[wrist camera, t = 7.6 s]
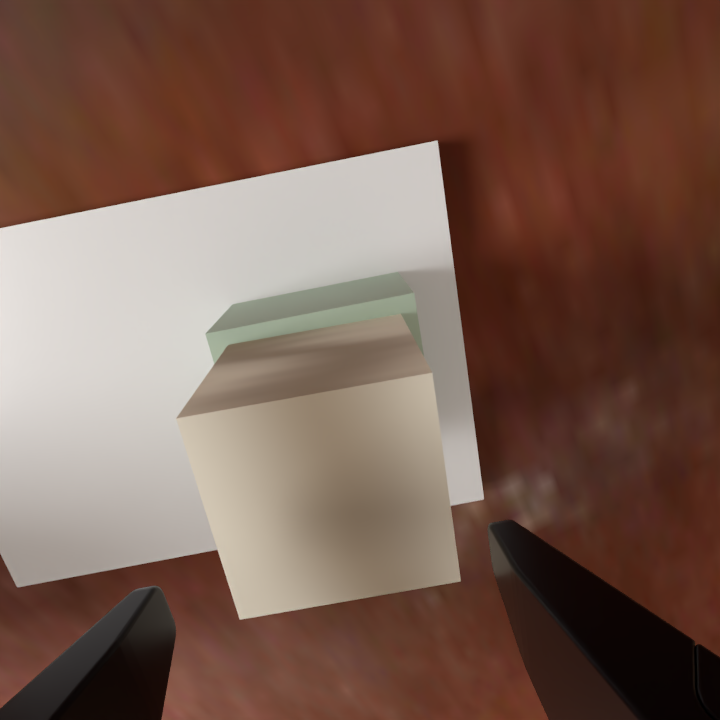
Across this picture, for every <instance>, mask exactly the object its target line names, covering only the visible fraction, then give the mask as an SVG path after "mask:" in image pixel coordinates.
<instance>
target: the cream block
mask: <svg viewBox="0 0 720 720" xmlns="http://www.w3.org/2000/svg"><path fill="white" fill-rule="evenodd" d="M176 420H177V423H178V426H179V430H180V433H181V436H182V439H183V442H184V445H185V449H186V452H187V455H188V458H189V461H190V464H191V468H192V471H193V474H194V477H195V480H196V483H197V486H198V490H199V493H200V496H201V499H202V502H203V505H204V509H205V512H206V515H207V518H208V521H209V524H210V528H211V531H212V534H213V537H214V540H215V543H216V546H217V550H218V553H219V556H220V559H221V562H222V565H223V569H224V572H225V575H226V578H227V581H228V584H229V587H230V591H231V594H232V597H233V600H234V603H235V606H236V610H237V613H238V616H239V619H240V620H241V619H247V618H253V617H259V616H264V615H270V614H276V613H282V612H287V611H293V610H299V609H305V608H310V607H316V606H322V605H328V604H333V603H339V602H345V601H351V600H356V599H362V598H368V597H374V596H379V595H385V594H391V593H397V592H402V591H408V590H414V589H420V588H425V587H431V586H437V585H443V584H448V583H454V582H460V581H461V578H460V571H459V564H458V556H457V549H456V542H455V534H454V527H453V520H452V513H451V505H450V498H449V491H448V483H447V476H446V469H445V461H444V454H443V447H442V439H441V432H440V425H439V417H438V410H437V403H436V395H435V388H434V381H433V373H432V371H431V369H430V367H429V365H428V364H427V362H426V360H425V358H424V356H423V354H422V352H421V350H420V349H419V347H418V345H417V343H416V341H415V339H414V337H413V335H412V334H411V332H410V330H409V328H408V326H407V324H406V322H405V321H404V319H403V317H402V315H401V314H396V315H391V316H385V317H380V318H374V319H369V320H363V321H358V322H352V323H346V324H341V325H335V326H330V327H324V328H319V329H313V330H308V331H302V332H296V333H291V334H285V335H280V336H274V337H269V338H263V339H258V340H252V341H246V342H241V343H235V344H230V345H228V346H227V347H226V348H225V350H224V351H223V353H222V354H221V356H220V357H219V358H218V360H217V361H216V363H215V364H214V365H213V367H212V368H211V370H210V371H209V373H208V374H207V375H206V377H205V378H204V380H203V381H202V382H201V384H200V385H199V387H198V388H197V389H196V391H195V392H194V394H193V395H192V397H191V398H190V399H189V401H188V402H187V404H186V405H185V406H184V408H183V409H182V411H181V412H180V414H179V415H178V416H177V418H176Z"/></svg>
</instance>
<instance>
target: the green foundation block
mask: <svg viewBox="0 0 720 720" xmlns="http://www.w3.org/2000/svg"><path fill="white" fill-rule="evenodd" d="M396 314H401V315H402V317H403V319H404V321H405V322H406V324H407V326H408V328H409V330H410V332H411V334H412V335H413V337H414V339H415V341H416V343H417V345H418V347H419V349H420V350H421V352H422V354H423V356H424V353H423V347H422V340H421V334H420V327H419V321H418V315H417V308H416V302H415V296H414V292H413V291H412V290H411V288H410V287H409V286H408V284H407V283H406V282H405V281H404V279H403V278H402V277H401V275H400V274H399V273H398V272H394V273H389V274H384V275H379V276H374V277H369V278H364V279H359V280H353V281H348V282H343V283H338V284H333V285H328V286H323V287H318V288H313V289H308V290H303V291H298V292H292V293H287V294H282V295H277V296H272V297H267V298H262V299H257V300H252V301H247V302H242V303H236V304H232V305H231V306H230V308H229V309H228V310H227V311H226V312H225V313H224V314H223V315H222V316H221V317H220V318H219V319H218V321H217V322H216V323H215V324H214V325H213V326H212V327H211V328H210V329H209V330H208V331H207V332H206V333H205V335H206V338H207V341H208V345H209V348H210V351H211V355H212V358H213V361H214V364H215V363H216V361H217V360H218V358H219V357H220V356H221V354H222V353H223V351H224V350H225V348H226V347H227V346H228V345H230V344H235V343H241V342H246V341H252V340H258V339H263V338H269V337H274V336H280V335H285V334H291V333H296V332H302V331H308V330H313V329H319V328H324V327H330V326H335V325H341V324H346V323H352V322H358V321H363V320H369V319H374V318H380V317H385V316H391V315H396Z"/></svg>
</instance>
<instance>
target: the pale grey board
mask: <svg viewBox="0 0 720 720" xmlns="http://www.w3.org/2000/svg"><path fill="white" fill-rule="evenodd" d="M394 272H398V273H399V274H400V275H401V277H402V278H403V279H404V281H405V282H406V283H407V284H408V286H409V287H410V288H411V290H412V291H413V292H414V296H415V302H416V308H417V315H418V321H419V327H420V334H421V340H422V347H423V353H424V358H425V360H426V362H427V364H428V365H429V367H430V369H431V371H432V373H433V381H434V388H435V395H436V403H437V410H438V417H439V425H440V432H441V439H442V447H443V454H444V461H445V469H446V476H447V483H448V491H449V498H450V505H451V506H452V505H457V504H462V503H468V502H473V501H478V500H484V495H483V487H482V479H481V472H480V464H479V456H478V449H477V441H476V433H475V425H474V418H473V410H472V402H471V395H470V387H469V379H468V371H467V364H466V356H465V348H464V341H463V333H462V325H461V317H460V310H459V302H458V294H457V286H456V279H455V271H454V263H453V256H452V248H451V240H450V232H449V225H448V217H447V209H446V202H445V194H444V186H443V178H442V171H441V163H440V155H439V148H438V141H433V142H428V143H423V144H418V145H413V146H408V147H403V148H398V149H393V150H388V151H383V152H378V153H373V154H368V155H363V156H358V157H353V158H348V159H343V160H338V161H333V162H328V163H323V164H318V165H313V166H308V167H303V168H298V169H293V170H288V171H283V172H278V173H273V174H268V175H263V176H258V177H253V178H248V179H243V180H238V181H233V182H229V183H224V184H219V185H214V186H209V187H204V188H199V189H194V190H189V191H184V192H179V193H174V194H169V195H164V196H159V197H154V198H149V199H144V200H139V201H134V202H129V203H124V204H119V205H114V206H109V207H104V208H99V209H94V210H89V211H84V212H79V213H74V214H69V215H64V216H59V217H54V218H49V219H44V220H39V221H34V222H29V223H24V224H19V225H14V226H9V227H4V228H0V554H1V556H2V558H3V560H4V562H5V564H6V566H7V568H8V570H9V572H10V574H11V576H12V578H13V580H14V582H15V584H16V586H17V587H23V586H28V585H33V584H39V583H44V582H49V581H55V580H60V579H65V578H70V577H76V576H81V575H86V574H92V573H97V572H102V571H108V570H113V569H118V568H123V567H129V566H134V565H139V564H145V563H150V562H155V561H161V560H166V559H171V558H176V557H182V556H187V555H192V554H198V553H203V552H208V551H214V550H217V546H216V543H215V540H214V537H213V534H212V531H211V528H210V524H209V521H208V518H207V515H206V512H205V509H204V505H203V502H202V499H201V496H200V493H199V490H198V486H197V483H196V480H195V477H194V474H193V471H192V468H191V464H190V461H189V458H188V455H187V452H186V449H185V445H184V442H183V439H182V436H181V433H180V430H179V426H178V423H177V420H176V418H177V416H178V415H179V414H180V412H181V411H182V409H183V408H184V406H185V405H186V404H187V402H188V401H189V399H190V398H191V397H192V395H193V394H194V392H195V391H196V389H197V388H198V387H199V385H200V384H201V382H202V381H203V380H204V378H205V377H206V375H207V374H208V373H209V371H210V370H211V368H212V367H213V365H214V361H213V358H212V355H211V351H210V348H209V345H208V341H207V338H206V335H205V333H206V332H207V331H208V330H209V329H210V328H211V327H212V326H213V325H214V324H215V323H216V322H217V321H218V319H219V318H220V317H221V316H222V315H223V314H224V313H225V312H226V311H227V310H228V309H229V308H230V306H231V305H232V304H236V303H242V302H247V301H252V300H257V299H262V298H267V297H272V296H277V295H282V294H287V293H292V292H298V291H303V290H308V289H313V288H318V287H323V286H328V285H333V284H338V283H343V282H348V281H353V280H359V279H364V278H369V277H374V276H379V275H384V274H389V273H394Z"/></svg>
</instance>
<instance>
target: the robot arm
mask: <svg viewBox="0 0 720 720" xmlns="http://www.w3.org/2000/svg"><path fill="white" fill-rule="evenodd" d="M488 537H489V545H490V552H491V560H492V566H493V571H494V575H495V578H496V581H497V584H498V587H499V590H500V593H501V596H502V599H503V602H504V605H505V608H506V611H507V615H508V618H509V621H510V624H511V627H512V630H513V633H514V636H515V639H516V642H517V645H518V648H519V651H520V654H521V656H522V659H523V662H524V665H525V667H526V670H527V672H528V674H529V677H530V679H531V681H532V684H533V686H534V688H535V690H536V692H537V695H538V697H539V699H540V701H541V703H542V706H543V708H544V710H545V712H546V714H547V716H548V719H549V720H720V657H719V656H717V655H716V654H714V653H713V652H711V651H710V650H708V649H707V648H705V647H704V646H702V645H700V644H697V645H696V647H695V641H694V640H693V639H691V638H690V637H688V636H687V635H685V634H684V633H682V632H681V631H679V630H678V629H676V628H675V627H673V626H672V625H670V624H669V623H667V622H666V621H664V620H663V619H661V618H660V617H658V616H657V615H655V614H654V613H652V612H651V611H649V610H648V609H646V608H645V607H643V606H641V605H640V604H638V603H637V602H635V601H634V600H632V599H631V598H629V597H628V596H626V595H625V594H623V593H622V592H620V591H619V590H617V589H616V588H614V587H613V586H611V585H610V584H608V583H607V582H605V581H604V580H602V579H601V578H599V577H598V576H596V575H595V574H593V573H592V572H590V571H589V570H587V569H586V568H584V567H583V566H581V565H580V564H578V563H577V562H575V561H574V560H572V559H571V558H569V557H568V556H566V555H565V554H563V553H562V552H560V551H559V550H557V549H556V548H554V547H553V546H551V545H550V544H548V543H547V542H545V541H544V540H542V539H541V538H539V537H538V536H536V535H535V534H533V533H532V532H530V531H529V530H527V529H526V528H524V527H523V526H521V525H519V524H518V523H516V522H515V521H513V520H504V521H499V522H494V523H490V524H489V526H488ZM175 637H176V626H175V622H174V619H173V616H172V614H171V611H170V608H169V606H168V603H167V601H166V598H165V595H164V593H163V591H162V589H161V588H160V587H158V586H151V587H145V588H140V589H136V590H134V591H132V592H131V593H130V594H129V595H127V596H126V597H125V598H124V599H123V600H122V601H121V602H120V603H118V604H117V605H116V606H115V607H114V608H113V609H112V610H111V611H110V612H108V613H107V614H106V615H105V616H104V617H103V618H102V619H101V620H99V621H98V622H97V623H96V624H95V625H94V626H93V627H92V628H90V629H89V630H88V631H87V632H86V633H85V634H84V635H83V636H81V637H80V638H79V639H78V640H77V641H76V642H75V643H74V644H72V645H71V646H70V647H69V648H68V649H67V650H66V651H65V652H63V653H62V654H61V655H60V656H59V657H58V658H57V659H56V660H54V661H53V662H52V663H51V664H50V665H49V666H48V667H47V668H45V669H44V670H43V671H42V672H41V673H40V674H39V675H38V676H36V677H35V678H34V679H33V680H32V681H31V682H30V683H29V684H27V685H26V686H25V687H24V688H23V689H22V690H21V691H20V692H18V693H17V694H16V695H15V696H14V697H13V698H12V699H11V700H10V701H8V702H7V703H6V704H5V705H4V706H3V707H2V708H1V709H0V720H161V718H162V713H163V707H164V701H165V695H166V690H167V684H168V678H169V672H170V667H171V661H172V655H173V649H174V643H175Z"/></svg>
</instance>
